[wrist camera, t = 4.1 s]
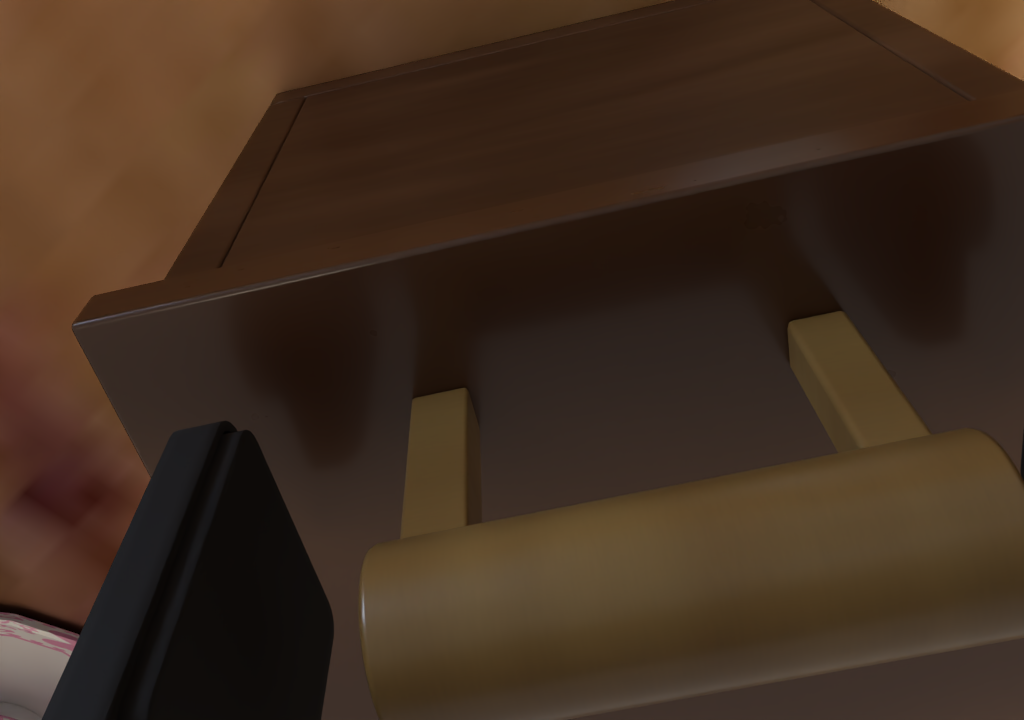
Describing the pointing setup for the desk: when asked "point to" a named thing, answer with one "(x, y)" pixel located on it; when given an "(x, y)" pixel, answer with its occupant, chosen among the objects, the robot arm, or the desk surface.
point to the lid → (643, 433)
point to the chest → (570, 115)
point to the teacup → (30, 665)
